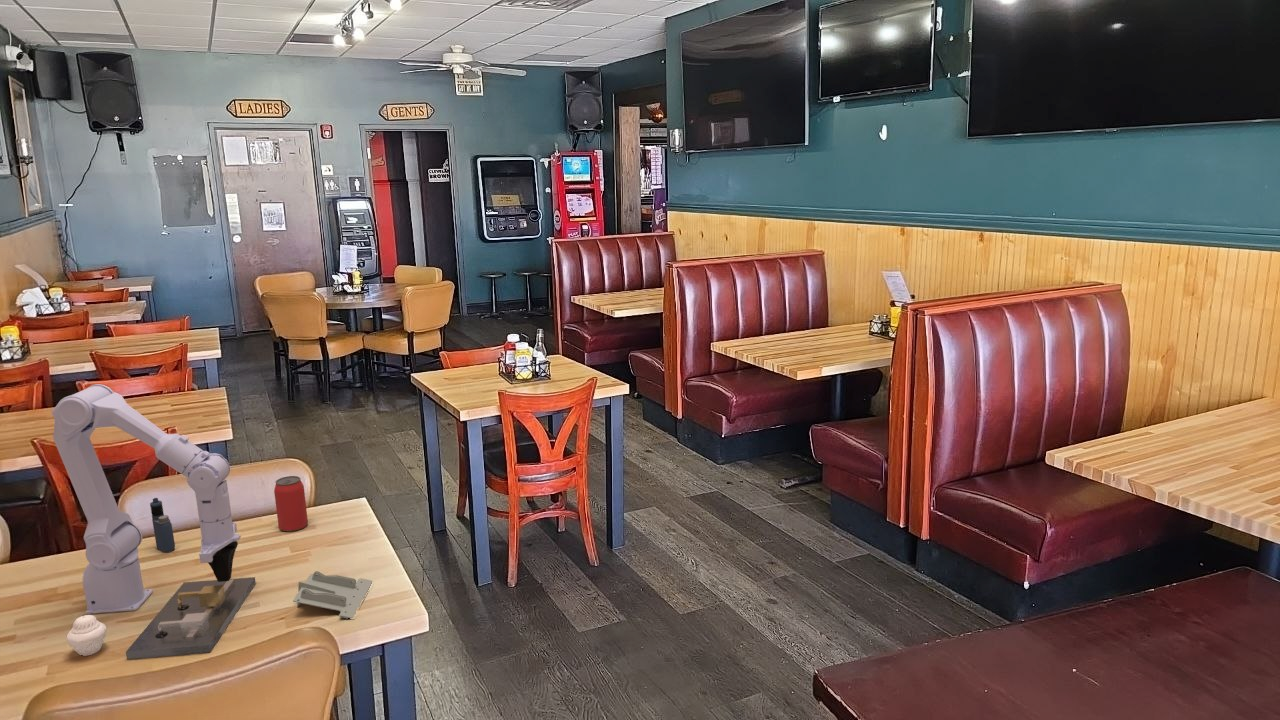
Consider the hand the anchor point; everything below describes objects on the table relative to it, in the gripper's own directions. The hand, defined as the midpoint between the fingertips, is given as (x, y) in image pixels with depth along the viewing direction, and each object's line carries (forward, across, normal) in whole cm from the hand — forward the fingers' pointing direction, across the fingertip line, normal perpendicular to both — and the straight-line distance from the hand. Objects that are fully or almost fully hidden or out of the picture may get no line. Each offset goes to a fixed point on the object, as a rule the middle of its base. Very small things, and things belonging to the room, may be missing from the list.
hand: (224, 579), depth 171 cm
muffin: (+4, -17, +18) cm, 25 cm away
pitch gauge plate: (+4, -8, +3) cm, 9 cm away
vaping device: (+4, +26, +22) cm, 34 cm away
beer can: (+4, +34, -4) cm, 35 cm away
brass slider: (+2, -7, +2) cm, 7 cm away
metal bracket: (+5, -5, -22) cm, 23 cm away
